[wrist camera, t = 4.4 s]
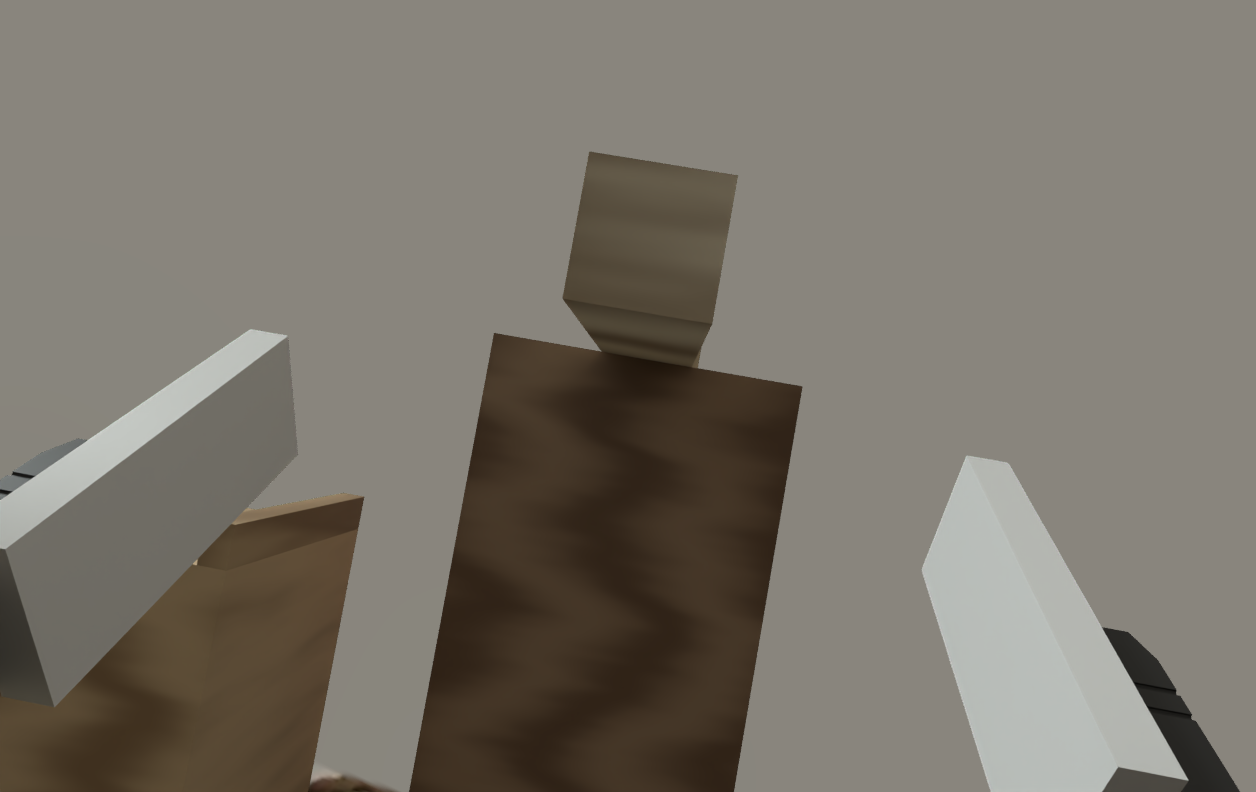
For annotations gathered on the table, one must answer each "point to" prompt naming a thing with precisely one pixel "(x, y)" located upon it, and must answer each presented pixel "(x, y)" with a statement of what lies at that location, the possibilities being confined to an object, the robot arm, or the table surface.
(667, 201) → the ash rail
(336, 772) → the table surface
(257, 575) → the oak pedestal
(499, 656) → the walnut stand
